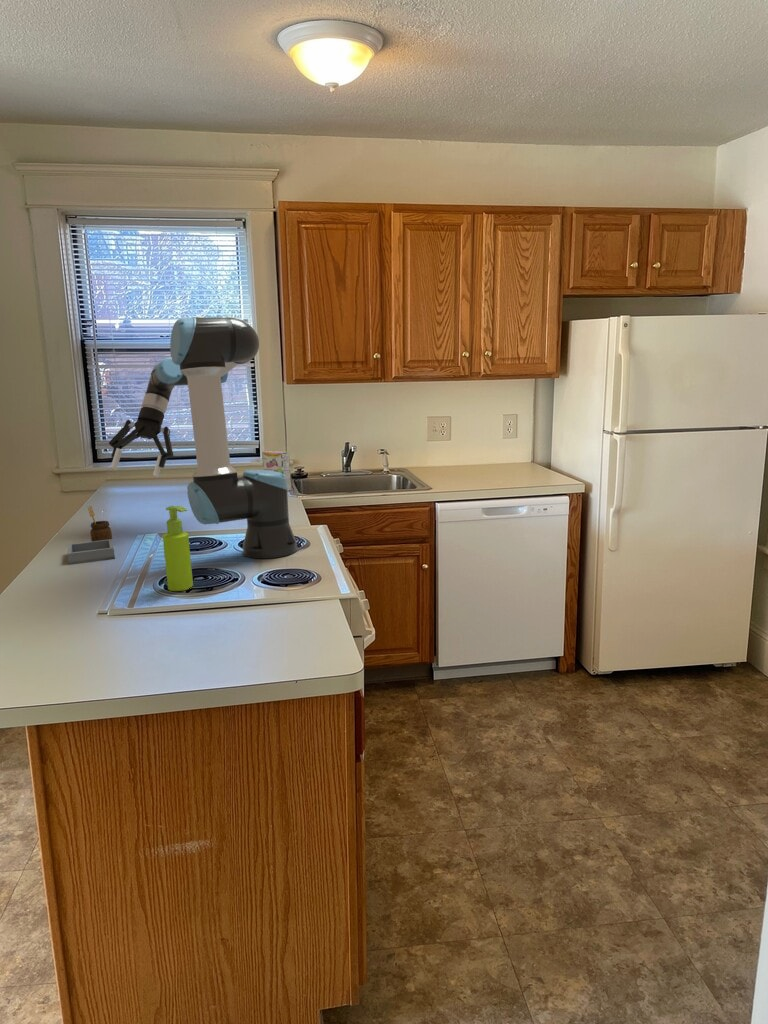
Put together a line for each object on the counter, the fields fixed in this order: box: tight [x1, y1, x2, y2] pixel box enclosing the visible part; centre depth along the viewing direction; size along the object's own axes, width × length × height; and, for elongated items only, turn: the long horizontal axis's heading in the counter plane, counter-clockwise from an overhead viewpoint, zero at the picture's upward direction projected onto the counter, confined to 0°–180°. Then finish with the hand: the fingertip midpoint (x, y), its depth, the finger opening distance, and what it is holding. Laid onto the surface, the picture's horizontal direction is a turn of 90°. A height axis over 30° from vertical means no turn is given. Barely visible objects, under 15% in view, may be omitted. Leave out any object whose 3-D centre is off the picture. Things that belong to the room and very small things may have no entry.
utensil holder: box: [87, 505, 113, 542], centre depth 214 cm, size 6×6×12 cm
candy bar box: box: [261, 450, 292, 492], centre depth 295 cm, size 11×5×16 cm, turn 58°
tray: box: [66, 538, 116, 565], centre depth 202 cm, size 12×12×3 cm
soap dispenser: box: [162, 505, 194, 592], centre depth 169 cm, size 6×7×20 cm
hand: (134, 472), depth 220 cm, fingers open, 13 cm apart
